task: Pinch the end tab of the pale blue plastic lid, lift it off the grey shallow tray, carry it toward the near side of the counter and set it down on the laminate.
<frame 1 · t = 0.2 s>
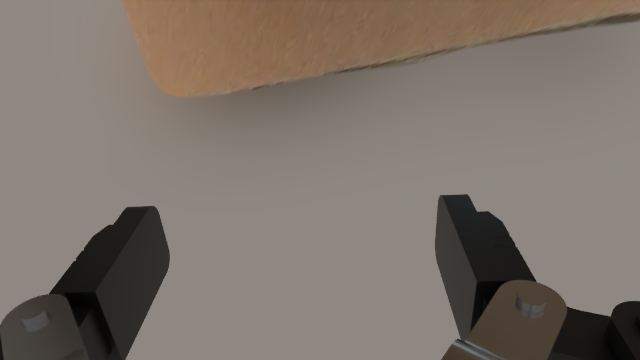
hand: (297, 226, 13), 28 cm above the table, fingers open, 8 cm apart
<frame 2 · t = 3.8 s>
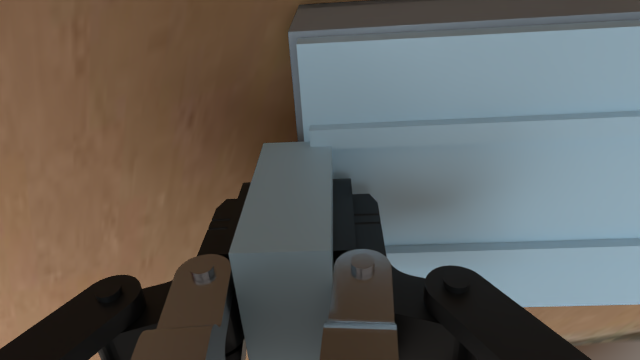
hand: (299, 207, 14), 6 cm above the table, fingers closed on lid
lid: (488, 180, 15), point 5 cm above the table, touching gripper
grey shallow tray: (451, 122, 19), on the table
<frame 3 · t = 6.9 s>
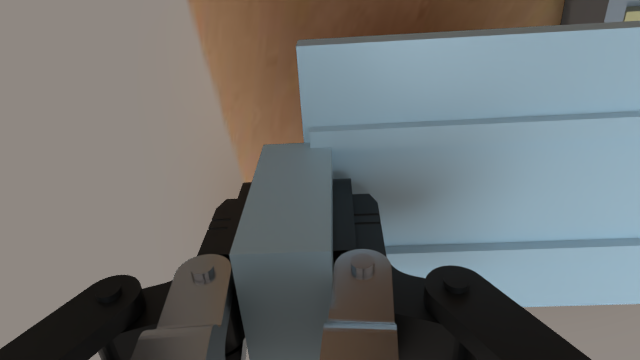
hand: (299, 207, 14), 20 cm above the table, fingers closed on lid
lid: (488, 180, 15), point 18 cm above the table, touching gripper
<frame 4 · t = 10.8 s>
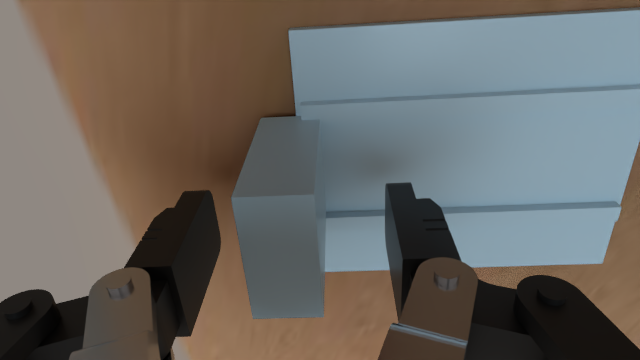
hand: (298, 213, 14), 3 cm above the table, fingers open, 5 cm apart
lid: (459, 151, 17), on the table
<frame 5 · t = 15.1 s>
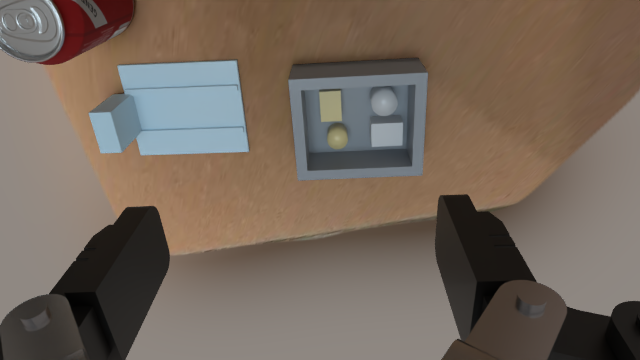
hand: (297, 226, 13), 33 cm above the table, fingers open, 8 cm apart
lid: (188, 107, 47), on the table
grey shallow tray: (356, 110, 46), on the table
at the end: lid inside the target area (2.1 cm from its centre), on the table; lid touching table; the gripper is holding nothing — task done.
